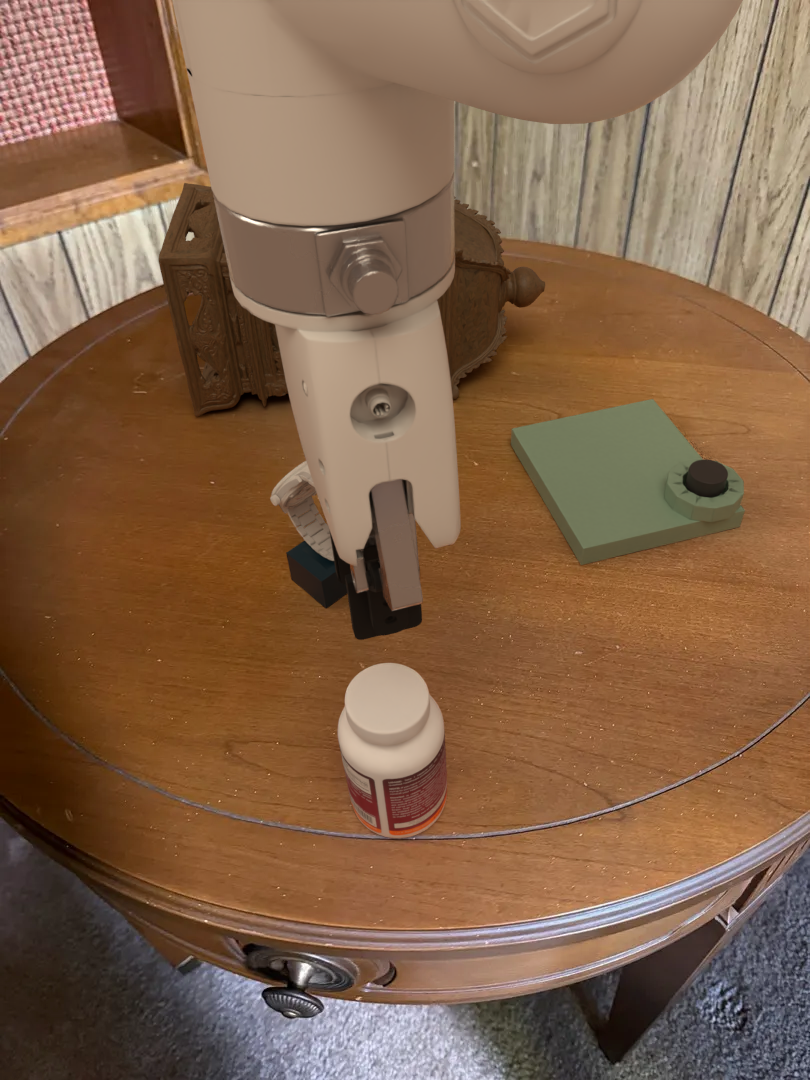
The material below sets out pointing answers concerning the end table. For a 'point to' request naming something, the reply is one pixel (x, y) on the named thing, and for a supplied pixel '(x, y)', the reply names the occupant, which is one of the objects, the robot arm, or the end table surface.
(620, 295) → the end table surface
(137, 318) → the end table surface
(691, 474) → the button
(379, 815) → the pill bottle
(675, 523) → the scale
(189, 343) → the brown lantern
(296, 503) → the watch
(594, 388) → the end table surface
